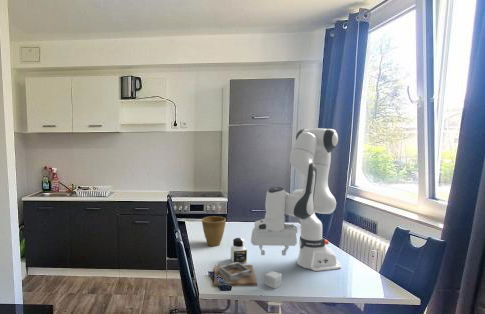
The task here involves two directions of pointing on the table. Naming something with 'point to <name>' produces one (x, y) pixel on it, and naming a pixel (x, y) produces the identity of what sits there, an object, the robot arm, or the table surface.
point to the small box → (273, 279)
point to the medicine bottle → (238, 251)
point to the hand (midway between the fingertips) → (273, 254)
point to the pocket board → (237, 282)
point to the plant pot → (213, 229)
